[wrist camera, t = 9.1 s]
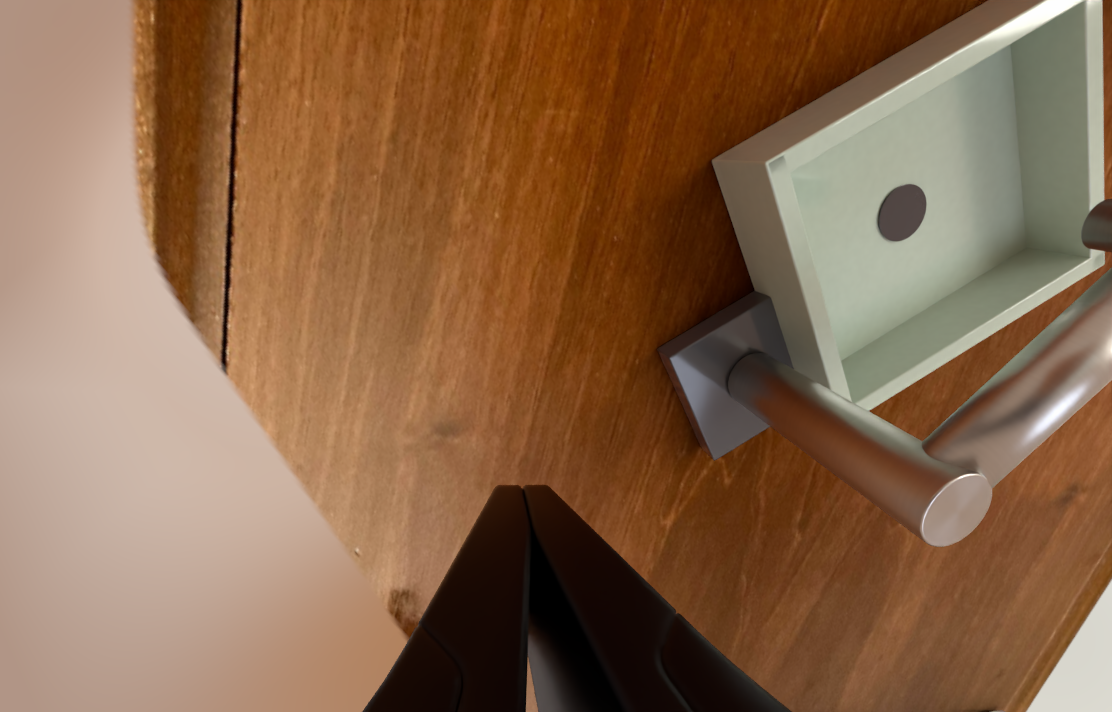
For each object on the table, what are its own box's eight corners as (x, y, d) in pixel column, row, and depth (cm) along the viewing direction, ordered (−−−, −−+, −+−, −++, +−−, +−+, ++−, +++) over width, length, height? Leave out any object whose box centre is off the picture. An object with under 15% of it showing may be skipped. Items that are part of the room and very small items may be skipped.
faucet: (745, 413, 25) (939, 561, 16) (717, 380, 24) (908, 519, 15) (960, 209, 24) (1289, 246, 15) (941, 166, 23) (1282, 179, 14)
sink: (701, 448, 26) (743, 490, 23) (599, 223, 21) (636, 237, 18) (1024, 250, 27) (1106, 264, 24) (1003, -9, 22) (1103, -35, 19)
